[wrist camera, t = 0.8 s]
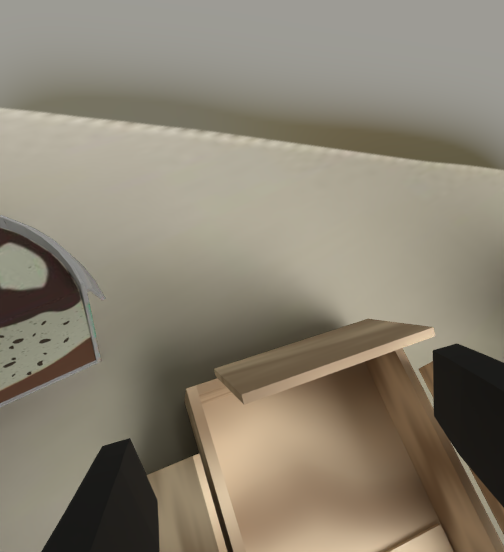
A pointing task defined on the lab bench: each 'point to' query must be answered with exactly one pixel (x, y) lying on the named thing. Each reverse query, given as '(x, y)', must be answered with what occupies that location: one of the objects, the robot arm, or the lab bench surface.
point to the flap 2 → (497, 509)
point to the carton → (321, 471)
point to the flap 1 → (316, 357)
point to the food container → (41, 312)
